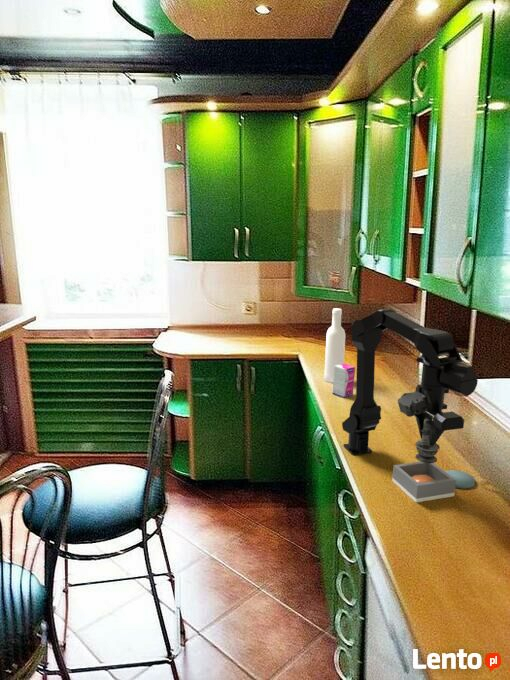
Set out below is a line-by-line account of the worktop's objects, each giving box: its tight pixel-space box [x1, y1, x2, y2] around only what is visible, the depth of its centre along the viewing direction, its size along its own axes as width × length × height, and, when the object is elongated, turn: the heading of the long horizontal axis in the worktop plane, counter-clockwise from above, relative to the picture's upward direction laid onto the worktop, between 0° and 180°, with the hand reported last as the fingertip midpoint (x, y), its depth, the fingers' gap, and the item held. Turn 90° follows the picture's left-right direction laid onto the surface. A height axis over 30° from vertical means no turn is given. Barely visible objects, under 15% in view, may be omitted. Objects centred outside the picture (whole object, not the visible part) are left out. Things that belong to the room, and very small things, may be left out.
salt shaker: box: [414, 415, 440, 464], centre depth 135 cm, size 6×6×12 cm
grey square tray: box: [391, 461, 456, 503], centre depth 138 cm, size 11×11×4 cm
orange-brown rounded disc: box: [412, 475, 434, 483], centre depth 138 cm, size 6×6×1 cm
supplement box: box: [331, 362, 356, 399], centre depth 205 cm, size 6×6×12 cm
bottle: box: [323, 307, 346, 384], centre depth 220 cm, size 8×8×30 cm
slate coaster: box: [444, 469, 476, 490], centre depth 142 cm, size 8×8×1 cm
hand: (427, 442), depth 135 cm, fingers closed on salt shaker, 3 cm apart
